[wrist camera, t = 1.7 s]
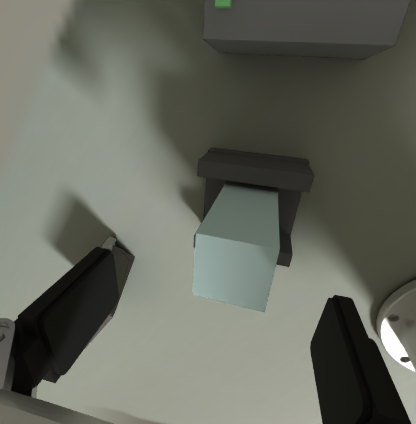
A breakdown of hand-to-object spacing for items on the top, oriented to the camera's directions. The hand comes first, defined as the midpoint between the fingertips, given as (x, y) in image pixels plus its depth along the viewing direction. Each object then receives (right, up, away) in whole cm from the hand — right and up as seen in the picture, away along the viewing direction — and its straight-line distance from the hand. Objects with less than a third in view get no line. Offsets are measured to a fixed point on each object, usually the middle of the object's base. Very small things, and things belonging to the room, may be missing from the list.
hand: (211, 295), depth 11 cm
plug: (+4, +5, +11) cm, 12 cm away
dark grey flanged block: (+4, +5, +12) cm, 13 cm away
